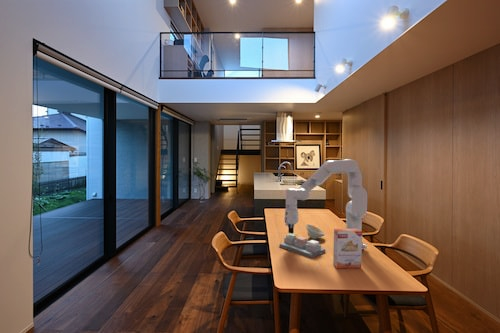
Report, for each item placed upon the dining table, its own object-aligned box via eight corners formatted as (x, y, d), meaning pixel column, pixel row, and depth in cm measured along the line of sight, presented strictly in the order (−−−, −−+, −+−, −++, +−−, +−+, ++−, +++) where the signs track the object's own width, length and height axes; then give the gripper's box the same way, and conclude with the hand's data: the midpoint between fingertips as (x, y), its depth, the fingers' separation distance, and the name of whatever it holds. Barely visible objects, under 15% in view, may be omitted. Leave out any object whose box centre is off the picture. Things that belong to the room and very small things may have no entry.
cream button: (318, 246, 162) (318, 241, 162) (314, 248, 159) (314, 243, 159) (312, 244, 166) (312, 239, 166) (307, 246, 163) (307, 241, 163)
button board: (325, 252, 165) (325, 243, 164) (311, 258, 155) (311, 249, 155) (293, 241, 184) (293, 234, 184) (279, 246, 174) (279, 238, 174)
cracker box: (337, 269, 140) (337, 231, 139) (332, 264, 146) (333, 228, 145) (361, 268, 141) (362, 231, 140) (356, 263, 147) (357, 227, 146)
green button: (296, 239, 176) (296, 235, 176) (291, 240, 173) (291, 236, 172) (290, 237, 180) (290, 233, 179) (286, 239, 176) (286, 234, 176)
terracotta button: (307, 242, 169) (307, 238, 169) (302, 244, 166) (302, 239, 166) (301, 240, 173) (301, 236, 173) (296, 242, 170) (296, 238, 169)
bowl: (325, 242, 182) (325, 228, 182) (305, 241, 185) (305, 227, 185) (323, 236, 197) (323, 223, 197) (305, 234, 200) (305, 222, 199)
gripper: (288, 209, 167) (288, 236, 168) (302, 206, 177) (302, 232, 178) (279, 207, 173) (279, 233, 174) (293, 204, 183) (293, 229, 184)
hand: (290, 232), depth 176 cm, fingers closed
